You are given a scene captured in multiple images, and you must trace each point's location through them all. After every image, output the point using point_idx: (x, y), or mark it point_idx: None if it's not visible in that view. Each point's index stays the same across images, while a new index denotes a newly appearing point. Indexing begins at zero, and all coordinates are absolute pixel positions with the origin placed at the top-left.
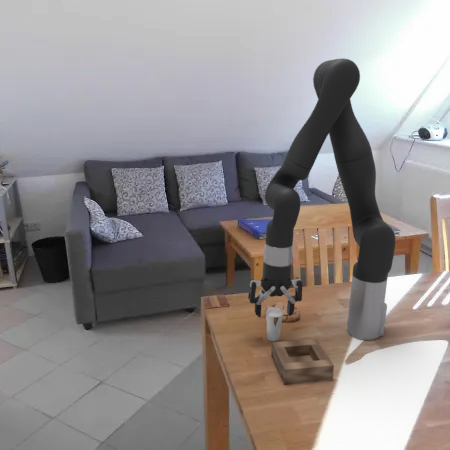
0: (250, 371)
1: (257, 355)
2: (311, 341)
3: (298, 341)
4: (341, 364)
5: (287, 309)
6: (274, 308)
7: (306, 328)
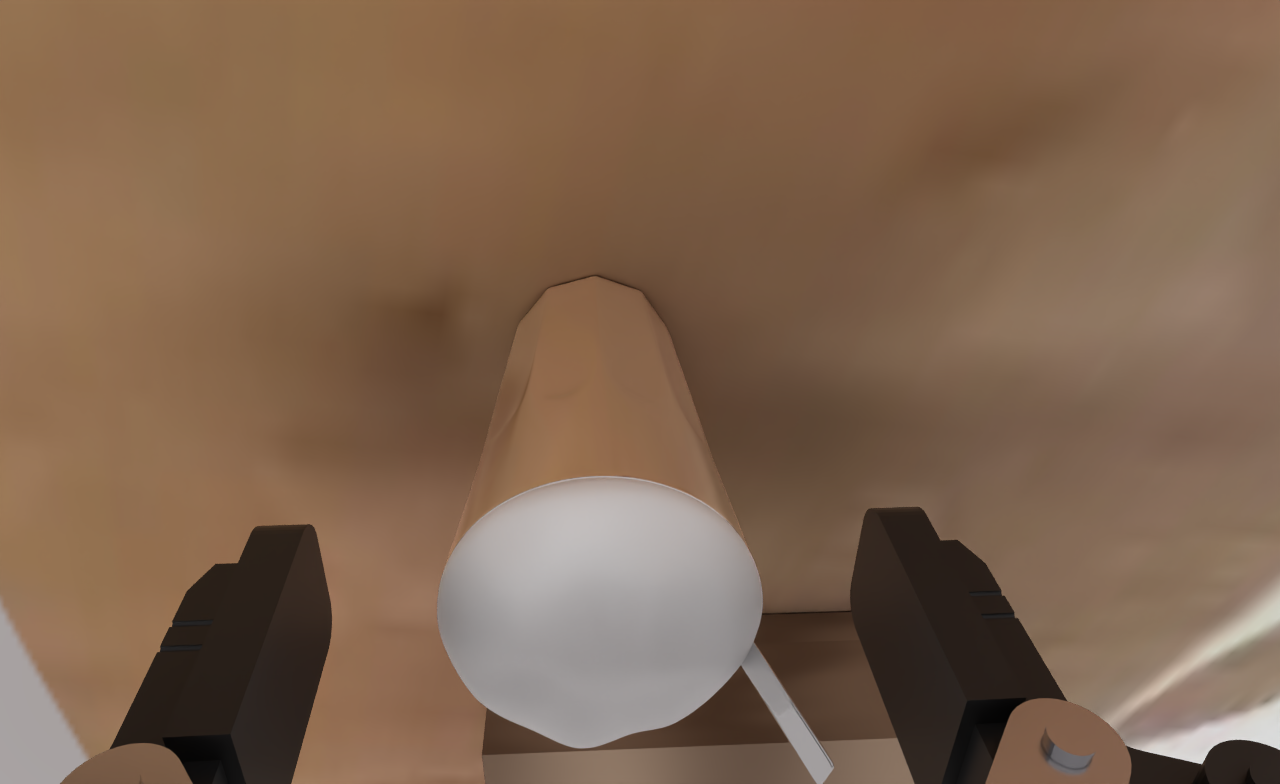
0: None
1: (355, 604)
2: None
3: (786, 760)
4: None
5: (888, 565)
6: (616, 615)
7: (1136, 155)
